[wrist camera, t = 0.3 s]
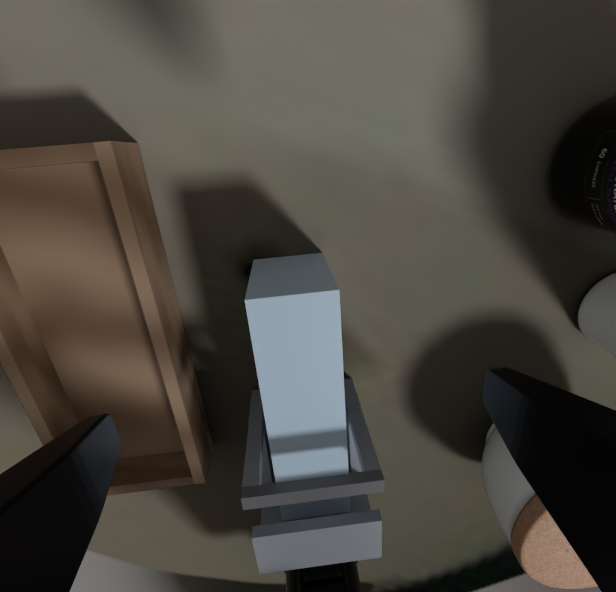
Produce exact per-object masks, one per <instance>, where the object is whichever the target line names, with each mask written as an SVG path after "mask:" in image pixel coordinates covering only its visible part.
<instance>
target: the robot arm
mask: <svg viewBox="0 0 616 592" xmlns="http://www.w3.org/2000/svg"><path fill="white" fill-rule="evenodd" d="M483 403H484V406H485V408H486V410H487V412H488V413H489V415H490V417H491V419H492V421H493V423H494V425H495V426H496V428H497V430H498V432H499V434H500V436H501V437H502V439H503V441H504V443H505V445H506V447H507V449H508V450H509V452H510V454H511V456H512V458H513V459H514V461H515V463H516V464H517V466H518V468H519V469H520V471H521V472H522V474H523V475H524V477H525V478H526V480H527V481H528V483H529V484H530V486H531V487H532V489H533V490H534V492H535V493H536V495H537V496H538V498H539V499H540V501H541V502H542V504H543V505H544V507H545V508H546V510H547V511H548V512H549V514H550V515H551V517H552V518H553V520H554V521H555V523H556V524H557V526H558V527H559V529H560V530H561V532H562V533H563V535H564V536H565V538H566V539H567V541H568V542H569V544H570V545H571V547H572V548H573V550H574V551H575V553H576V554H577V556H578V557H579V559H580V560H581V562H582V563H583V565H584V566H585V568H586V569H587V571H588V572H589V574H590V575H591V576H592V578H593V579H594V581H595V582H596V584H597V585H598V587H599V588H600V590H601V591H602V592H616V411H615V410H613V409H610V408H608V407H605V406H603V405H600V404H598V403H595V402H593V401H590V400H588V399H585V398H583V397H580V396H578V395H575V394H573V393H570V392H568V391H565V390H562V389H560V388H557V387H555V386H552V385H550V384H547V383H545V382H542V381H540V380H537V379H535V378H532V377H530V376H527V375H525V374H522V373H520V372H517V371H515V370H512V369H510V368H507V367H497V368H490V369H488V370H487V371H486V374H485V381H484V388H483ZM120 451H121V439H120V436H119V433H118V431H117V428H116V425H115V423H114V420H113V418H112V416H111V415H110V414H108V413H103V414H94V415H90V416H88V417H86V418H85V419H83V420H82V421H80V422H79V423H77V424H76V425H74V426H73V427H71V428H70V429H68V430H67V431H65V432H64V433H62V434H61V435H59V436H58V437H56V438H55V439H53V440H52V441H50V442H49V443H47V444H45V445H44V446H42V447H41V448H39V449H38V450H36V451H35V452H33V453H32V454H30V455H29V456H27V457H26V458H24V459H23V460H21V461H20V462H18V463H17V464H15V465H14V466H12V467H11V468H9V469H8V470H6V471H5V472H3V473H2V474H0V592H69V591H70V589H71V586H72V584H73V582H74V579H75V577H76V574H77V572H78V570H79V567H80V565H81V562H82V560H83V557H84V555H85V553H86V550H87V548H88V546H89V543H90V541H91V538H92V536H93V533H94V531H95V529H96V526H97V523H98V521H99V518H100V515H101V512H102V509H103V507H104V503H105V500H106V497H107V493H108V490H109V487H110V484H111V480H112V477H113V474H114V471H115V467H116V464H117V461H118V458H119V454H120ZM357 562H358V561H351V562H344V563H337V564H330V565H323V566H315V567H308V568H301V569H294V570H287V571H284V572H285V573H286V589H287V590H286V591H287V592H362V591H361V586H360V580H359V575H358V570H357V565H356V564H357Z"/></svg>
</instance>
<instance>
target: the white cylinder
mask: <svg viewBox="0 0 616 592" xmlns="http://www.w3.org/2000/svg"><path fill="white" fill-rule="evenodd" d="M578 325H579V328H580V330H581V332H582V333H583V335H584V336H585V337H586V338H587V339H589V340H590V341H591V342H593V343H594V344H596V345H598V346H599V347H601V348H603V349H604V350H606V351H608V352H609V353H611V354H612V355H614V356H615V357H616V273H614V274H611V275H609V276H607V277H605V278H604V279H602V280H601V281H599V282H598V283H597V284H596V285H594V286H593V287H592V288H591V289H590V290H589V292H588V293H587V294H586V296H585V297H584V299H583V301H582V302H581V305H580V307H579V311H578Z"/></svg>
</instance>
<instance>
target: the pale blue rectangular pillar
mask: <svg viewBox="0 0 616 592" xmlns="http://www.w3.org/2000/svg"><path fill="white" fill-rule="evenodd" d="M245 306H246V312H247V318H248V324H249V330H250V335H251V341H252V347H253V353H254V359H255V365H256V370H257V376H258V382H259V388H260V394H261V400H262V406H263V411H264V417H265V423H266V429H267V435H268V441H269V446H270V452H271V458H272V464H273V470H274V476H275V481H276V483H278V482H285V481H293V480H301V479H309V478H317V477H324V476H332V475H340V474H348V473H349V468H348V449H347V429H346V410H345V391H344V371H343V352H342V332H341V313H340V293H339V288H338V286H337V283H336V281H335V279H334V277H333V275H332V272H331V270H330V268H329V266H328V263H327V261H326V259H325V257H324V255H323V253H314V254H304V255H295V256H285V257H275V258H266V259H256V260H253V264H252V269H251V273H250V277H249V282H248V286H247V291H246V295H245ZM280 511H281V517H282V521H287V520H294V519H301V518H309V517H316V516H323V515H331V514H338V513H345V512H351V507H350V496H348V497H340V498H333V499H325V500H317V501H310V502H302V503H295V504H287V505H280Z"/></svg>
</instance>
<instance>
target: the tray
mask: <svg viewBox="0 0 616 592" xmlns="http://www.w3.org/2000/svg"><path fill="white" fill-rule="evenodd" d="M0 362H1V364H2V366H3V368H4V370H5V372H6V374H7V376H8V378H9V380H10V382H11V384H12V386H13V388H14V390H15V392H16V393H17V395H18V397H19V399H20V401H21V403H22V405H23V407H24V409H25V411H26V413H27V415H28V417H29V419H30V421H31V423H32V425H33V427H34V429H35V431H36V433H37V435H38V436H39V438H40V440H41V442H42V444H43V446H44V445H45V444H47V443H49V442H50V441H52V440H53V439H55V438H56V437H58V436H59V435H61V434H62V433H64V432H65V431H67V430H68V429H70V428H71V427H73V426H74V425H76V424H77V423H79V422H80V421H82V420H83V419H85V418H86V417H88V416H90V415H94V414H103V413H108V414H110V415H111V416H112V418H113V420H114V423H115V425H116V428H117V431H118V433H119V436H120V439H121V451H120V454H119V458H118V461H117V464H116V467H115V471H114V474H113V477H112V480H111V484H110V487H109V490H108V493H107V495H115V494H123V493H130V492H138V491H146V490H154V489H162V488H170V487H178V486H185V485H193V484H201V483H206V478H207V474H208V469H209V465H210V460H211V455H212V451H213V442H212V438H211V434H210V430H209V426H208V422H207V418H206V414H205V410H204V406H203V402H202V398H201V394H200V390H199V386H198V382H197V378H196V374H195V370H194V366H193V362H192V358H191V354H190V350H189V346H188V342H187V338H186V334H185V330H184V326H183V322H182V318H181V314H180V310H179V306H178V302H177V298H176V294H175V290H174V286H173V282H172V278H171V274H170V270H169V266H168V262H167V258H166V254H165V250H164V246H163V242H162V238H161V234H160V230H159V226H158V222H157V218H156V214H155V210H154V206H153V202H152V198H151V194H150V190H149V186H148V182H147V178H146V174H145V170H144V166H143V162H142V158H141V154H140V150H139V146H138V143H134V142H119V141H103V142H91V143H79V144H67V145H55V146H43V147H31V148H18V149H6V150H0Z"/></svg>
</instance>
